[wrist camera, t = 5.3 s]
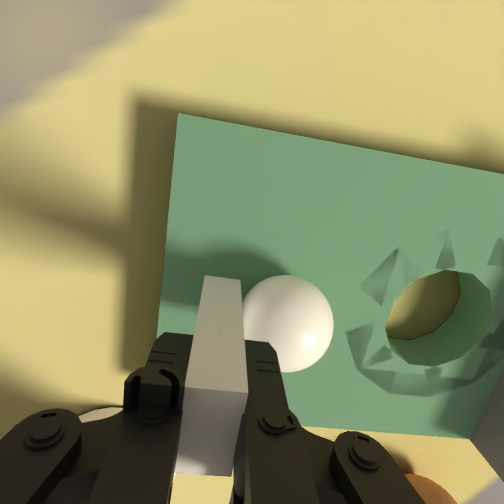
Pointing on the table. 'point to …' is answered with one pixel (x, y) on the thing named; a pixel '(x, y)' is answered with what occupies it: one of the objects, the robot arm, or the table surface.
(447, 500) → the egg
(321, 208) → the green
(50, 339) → the table surface
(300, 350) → the ball
